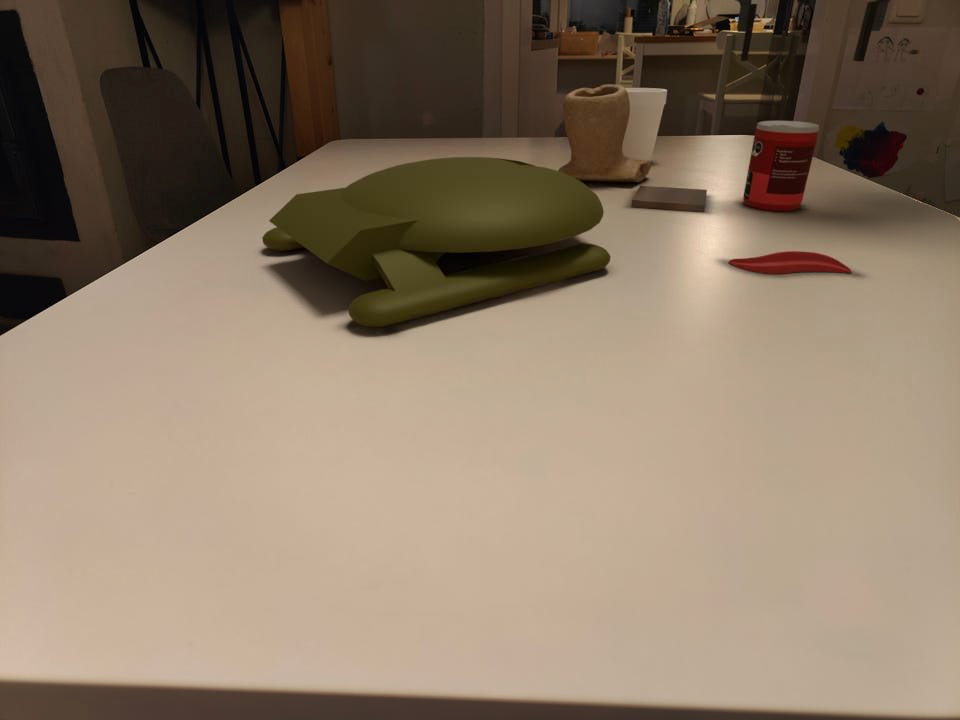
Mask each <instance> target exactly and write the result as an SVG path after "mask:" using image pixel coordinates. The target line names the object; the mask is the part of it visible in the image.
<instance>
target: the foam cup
mask: <svg viewBox="0 0 960 720" xmlns="http://www.w3.org/2000/svg"><path fill="white" fill-rule="evenodd" d="M624 88H625V89H626V91H627V93H628V96H629V102H630V115H629V120H628V124H627V128H626V132H625V136H624V140H623V145H622V152H623V155H624V156H625V157H627V158H630V159H637V160H650V161H651V160H652V158H653V153H654V149H655V145H656V140H657V137H658V133H659V129H660V124H661V121H662V116H663V111H664V109H665V105H666V104H667V95H668V89H665V88H657V87H656V88H655V87H654V88H653V87H624Z"/></svg>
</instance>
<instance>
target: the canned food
mask: <svg viewBox="0 0 960 720" xmlns="http://www.w3.org/2000/svg"><path fill="white" fill-rule="evenodd" d="M819 129H820V125H819V124H817V123H814V122H813V123H812V122H806V121H795V120H763V121H760V122H757V124H756V127H755V131H754V135H753V141H752V147H751V153H750V157H749V158H750V159H749V163H748V169H747V175H746V180H745V184H744V191H743V196H742V197H743V203H744V204H745V205H746V206H748V207H751V208H754V209H758V210H764V211H772V212H788V211H789V212H790V211H795V210H797V209H799V208H800V206H801V204H802V203H803V200H804V195H805V191H806V186H807V183H808V179H809V175H810V171H811V166H812V162H813V158H814V153H815V149H816V145H817V141H818V136H819V132H820V131H819Z"/></svg>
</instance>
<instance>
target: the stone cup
mask: <svg viewBox="0 0 960 720" xmlns="http://www.w3.org/2000/svg"><path fill="white" fill-rule="evenodd" d="M625 88H626V87H624V85H620V84H602V85H600V86H597V87H595V88H589V87H581V88H577V89H575V90H572V91H570V92H569V93H568V94H567V95H566V96H565V98H564V100H563V104H562V111H563V112H562V114H563V125H564V130H565V134H566V137H567V141H568V143H569V147H570V160H569V162H568V163H566V164H565V165H562V166H561V167H559V168H558V170H557V171H560V172H562V173H565V174H567V175H569V176H571V177H573V178H575V179H577V180H579V181H584V182H585V181H588V182H601V183H602V182H603V183H605V182H606V183H640V182H642V181H643V180H644V179H646V177H647V175H649V172H650V170H651V168H652V161H651V160H637V159H630V158H627V157H625V156H624V155H623V152H622V145H623V140H624V136H625V132H626V128H627V124H628V120H629V115H630V102H629V96H628V93H627V91H626V89H625Z"/></svg>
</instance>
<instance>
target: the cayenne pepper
mask: <svg viewBox="0 0 960 720" xmlns="http://www.w3.org/2000/svg"><path fill="white" fill-rule="evenodd" d="M727 263H728V264H729V265H732V266H734V267H737V268H739V269H742V270H746V271H750V272H754V273H761V274H769V275H780V274H792V273H806V272H807V273H808V272H809V273H810V272H813V273H814V272H816V273H817V272H821V273H822V272H825V273H842V274H843V273H845V274H853V273H852V270H851V268H849V267H848V266H847V265H846V264H844V263H842V262H841V261H840V260H838V259H836V258H834V257H832V256H829V255H827V254H823V253H820V252H814V251H798V250H796V251H795V250H789V251H778V252H773V253H768V254H765V255H760V256H754V257H744V258H732V259H730V260H729V261H727Z"/></svg>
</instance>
